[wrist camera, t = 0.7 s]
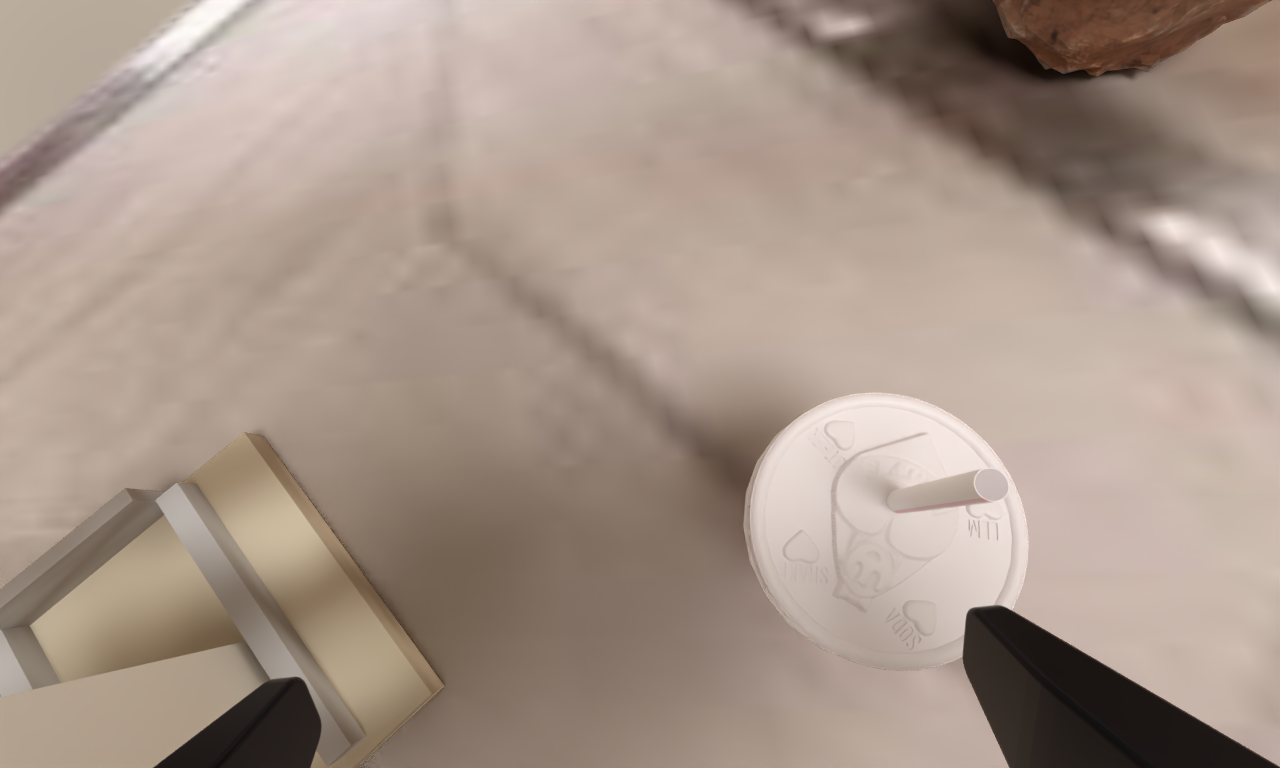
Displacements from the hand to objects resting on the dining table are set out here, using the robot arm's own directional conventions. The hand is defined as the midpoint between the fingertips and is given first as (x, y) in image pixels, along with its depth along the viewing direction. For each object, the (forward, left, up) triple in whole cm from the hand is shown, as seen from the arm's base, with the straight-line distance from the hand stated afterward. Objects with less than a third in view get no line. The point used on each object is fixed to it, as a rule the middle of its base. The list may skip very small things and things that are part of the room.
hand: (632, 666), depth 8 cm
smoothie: (0, -6, -16) cm, 17 cm away
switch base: (+2, +18, -15) cm, 24 cm away
